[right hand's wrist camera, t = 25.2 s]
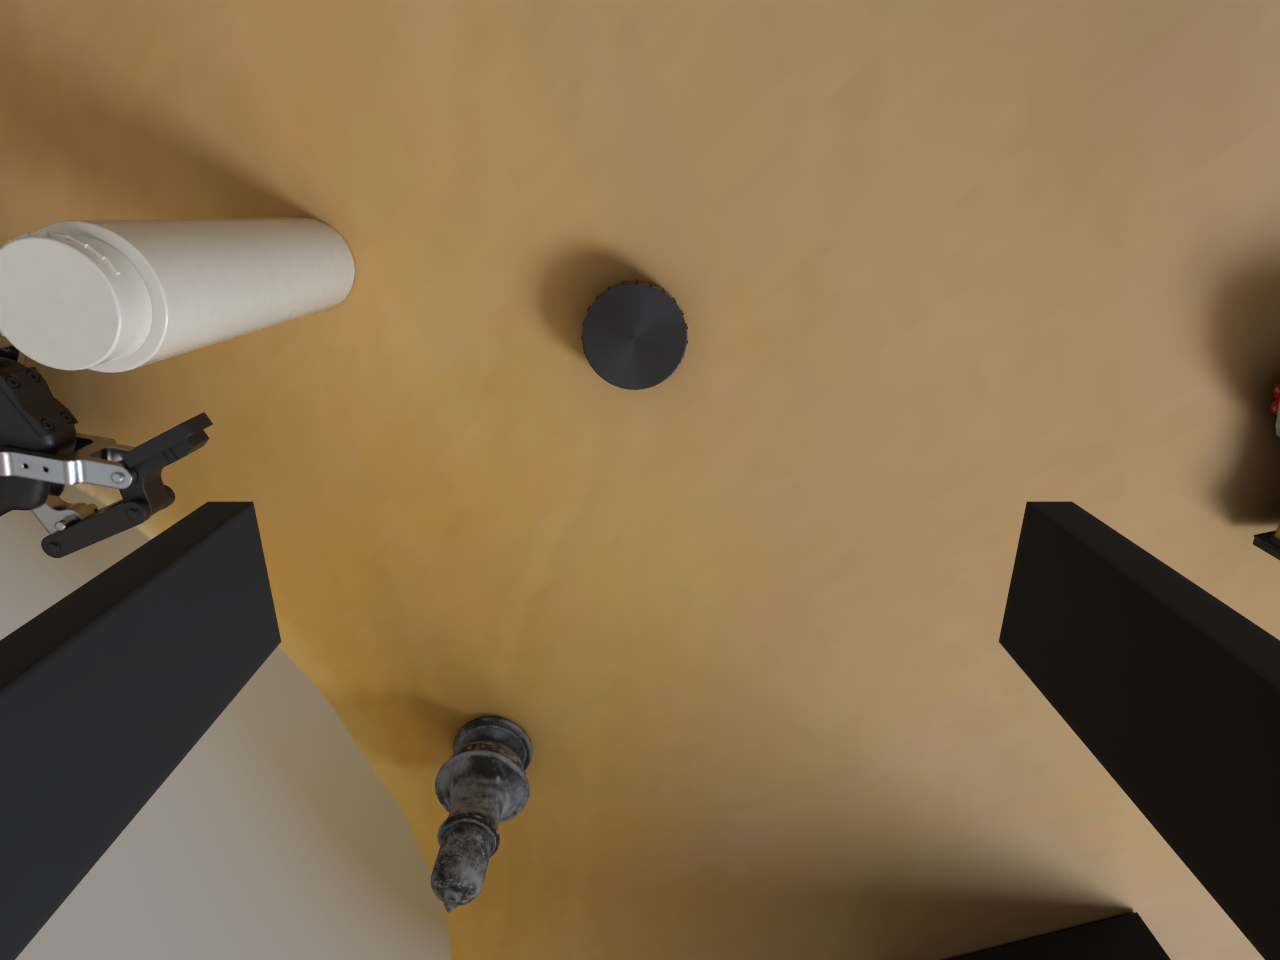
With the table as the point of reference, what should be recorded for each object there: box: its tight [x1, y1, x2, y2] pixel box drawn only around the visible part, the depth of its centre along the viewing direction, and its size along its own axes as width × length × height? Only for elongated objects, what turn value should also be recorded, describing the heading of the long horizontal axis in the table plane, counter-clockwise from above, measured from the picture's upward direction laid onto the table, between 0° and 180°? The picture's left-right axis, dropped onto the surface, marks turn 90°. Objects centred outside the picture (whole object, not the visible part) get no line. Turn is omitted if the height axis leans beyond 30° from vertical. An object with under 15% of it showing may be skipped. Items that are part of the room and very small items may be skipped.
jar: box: [0, 218, 355, 373], centre depth 30 cm, size 5×5×18 cm
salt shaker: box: [431, 717, 532, 912], centre depth 43 cm, size 6×6×12 cm
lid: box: [581, 280, 688, 390], centre depth 38 cm, size 6×6×2 cm
